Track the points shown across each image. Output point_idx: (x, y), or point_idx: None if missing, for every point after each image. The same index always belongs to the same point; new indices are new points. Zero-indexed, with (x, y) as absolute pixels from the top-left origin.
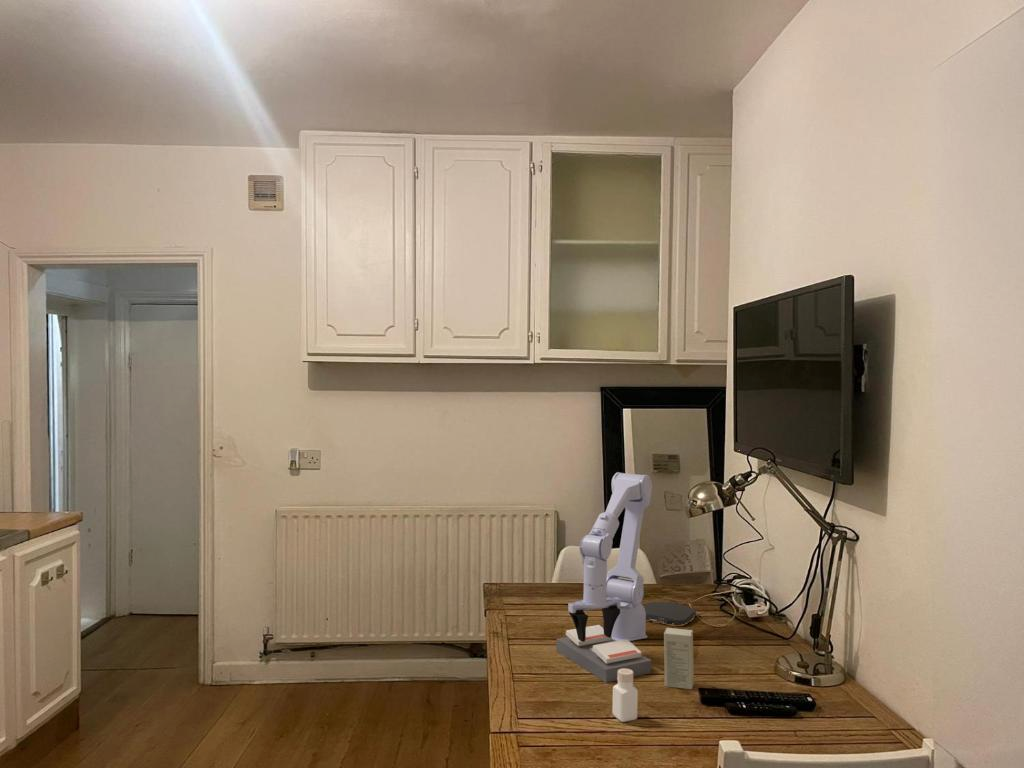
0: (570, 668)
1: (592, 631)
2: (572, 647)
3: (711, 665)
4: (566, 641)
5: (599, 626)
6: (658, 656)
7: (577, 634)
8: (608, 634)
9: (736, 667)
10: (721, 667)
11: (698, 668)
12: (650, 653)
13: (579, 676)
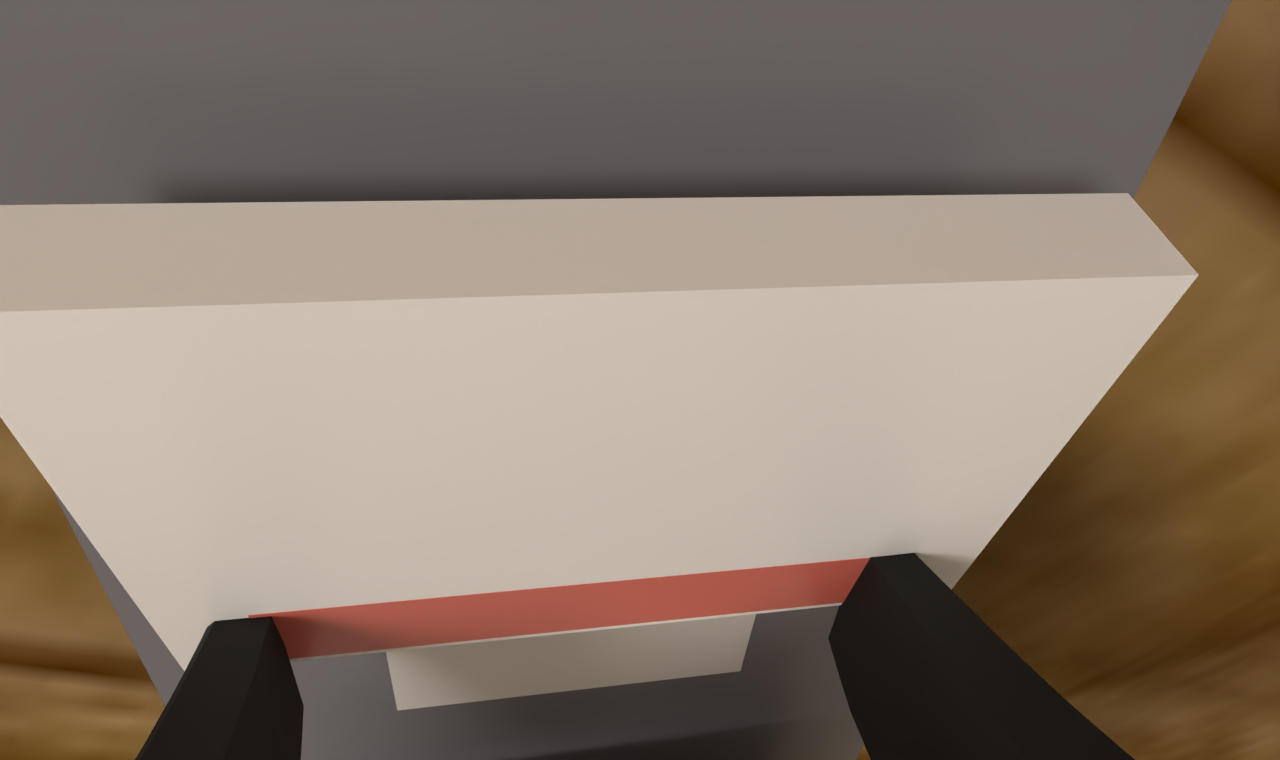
0: (29, 558)
1: (740, 473)
2: None
3: (1215, 721)
4: (58, 192)
5: (1112, 341)
6: (1147, 550)
7: (168, 708)
8: (847, 678)
9: (1273, 754)
10: (1219, 745)
11: None
12: (1175, 483)
13: (84, 708)
